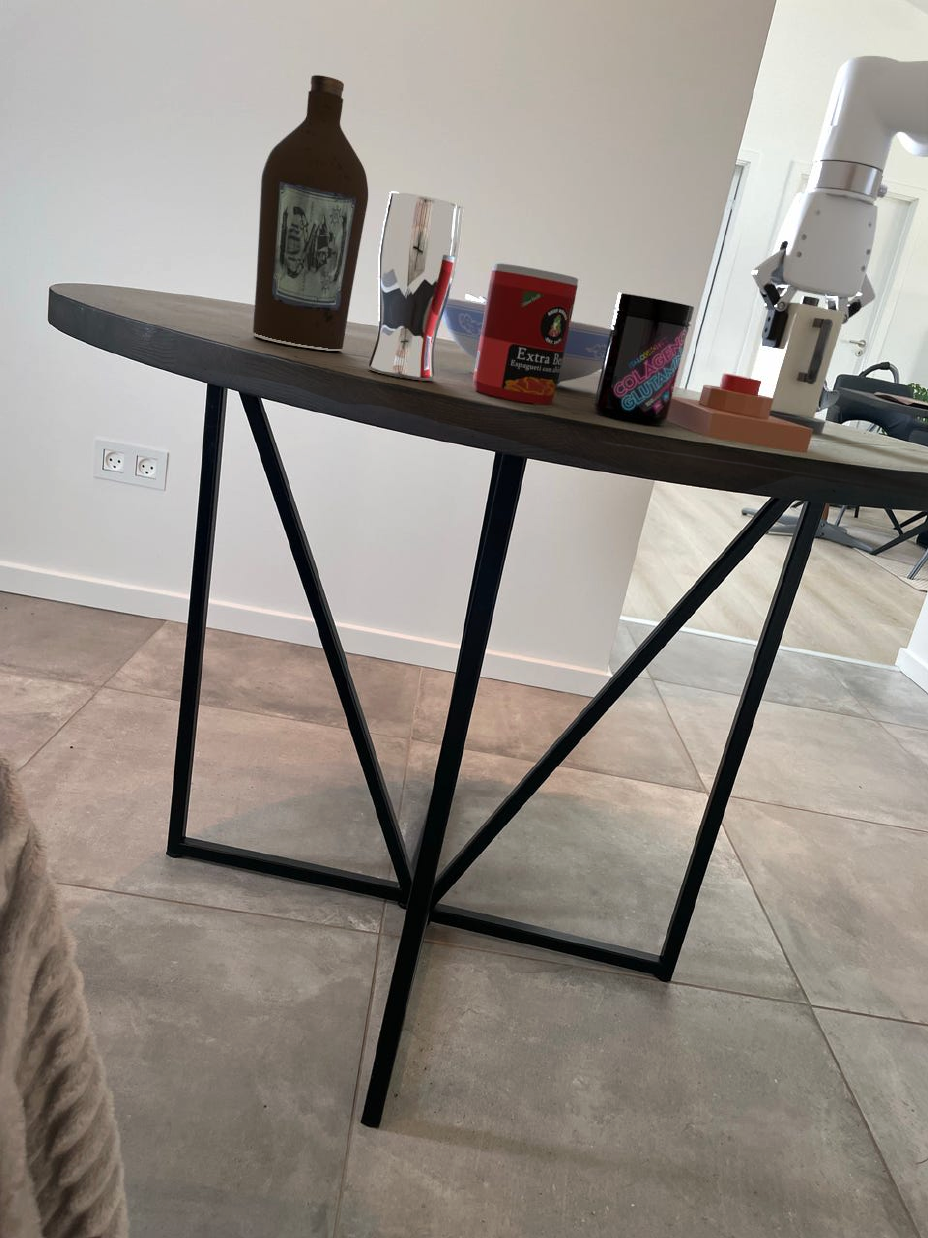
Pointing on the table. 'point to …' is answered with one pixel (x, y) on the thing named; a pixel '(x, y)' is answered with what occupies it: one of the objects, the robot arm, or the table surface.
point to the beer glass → (414, 282)
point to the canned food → (524, 333)
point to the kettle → (799, 358)
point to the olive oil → (310, 227)
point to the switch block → (738, 419)
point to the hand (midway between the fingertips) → (795, 350)
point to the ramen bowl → (580, 347)
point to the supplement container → (642, 359)
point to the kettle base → (801, 421)
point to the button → (740, 384)
